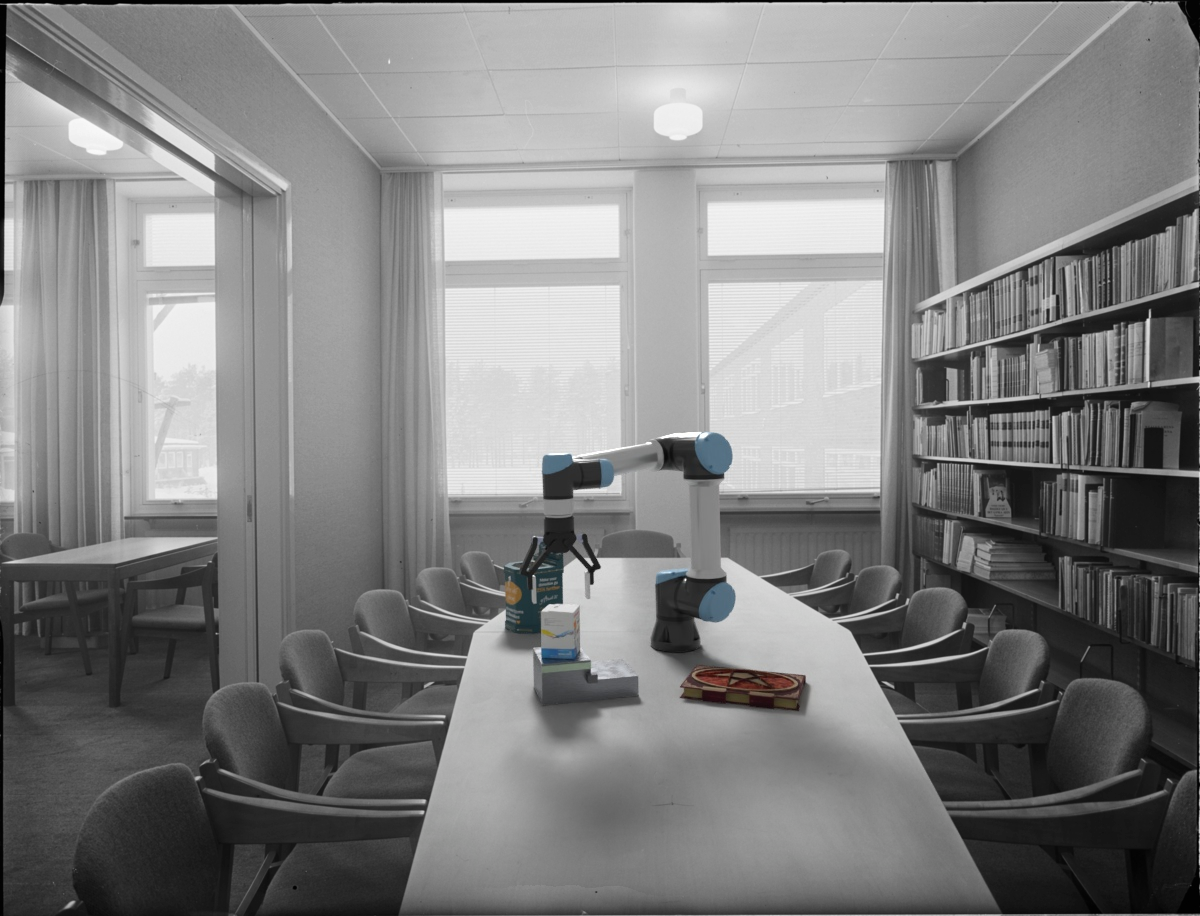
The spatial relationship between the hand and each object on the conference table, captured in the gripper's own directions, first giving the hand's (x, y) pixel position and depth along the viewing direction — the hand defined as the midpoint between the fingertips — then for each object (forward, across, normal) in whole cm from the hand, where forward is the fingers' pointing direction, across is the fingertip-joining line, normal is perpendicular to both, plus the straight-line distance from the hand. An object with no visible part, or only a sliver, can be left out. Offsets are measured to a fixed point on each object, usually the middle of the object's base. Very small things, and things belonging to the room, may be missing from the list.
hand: (561, 600), depth 186 cm
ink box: (+14, 0, 0) cm, 14 cm away
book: (+25, -44, +11) cm, 52 cm away
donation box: (+24, -1, -65) cm, 69 cm away
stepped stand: (+23, -5, +1) cm, 24 cm away
